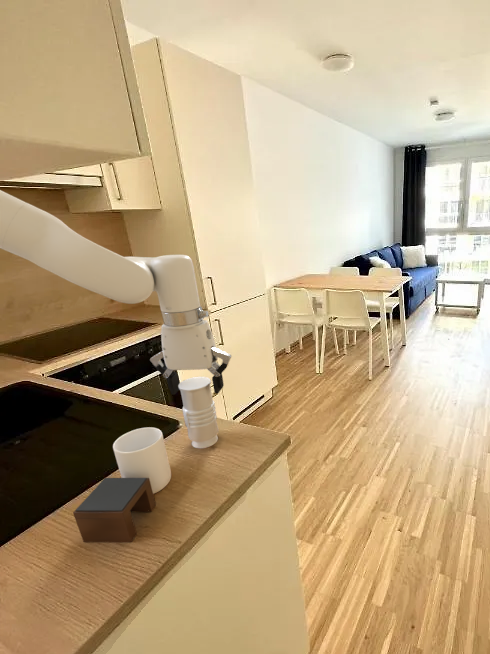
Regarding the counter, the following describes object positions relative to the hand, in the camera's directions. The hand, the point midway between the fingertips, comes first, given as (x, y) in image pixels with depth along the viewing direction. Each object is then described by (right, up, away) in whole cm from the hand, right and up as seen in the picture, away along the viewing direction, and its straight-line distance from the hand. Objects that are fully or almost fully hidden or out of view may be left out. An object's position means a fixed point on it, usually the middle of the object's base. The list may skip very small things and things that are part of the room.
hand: (197, 391), depth 80 cm
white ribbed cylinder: (0, -12, +4) cm, 13 cm away
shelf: (-6, -21, -18) cm, 28 cm away
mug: (-6, -17, -7) cm, 19 cm away
